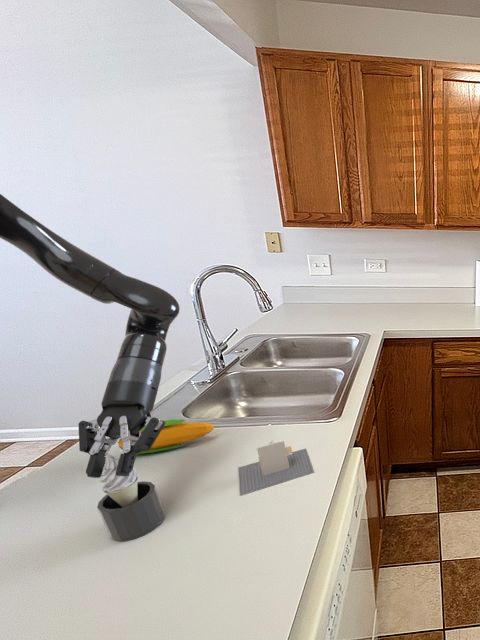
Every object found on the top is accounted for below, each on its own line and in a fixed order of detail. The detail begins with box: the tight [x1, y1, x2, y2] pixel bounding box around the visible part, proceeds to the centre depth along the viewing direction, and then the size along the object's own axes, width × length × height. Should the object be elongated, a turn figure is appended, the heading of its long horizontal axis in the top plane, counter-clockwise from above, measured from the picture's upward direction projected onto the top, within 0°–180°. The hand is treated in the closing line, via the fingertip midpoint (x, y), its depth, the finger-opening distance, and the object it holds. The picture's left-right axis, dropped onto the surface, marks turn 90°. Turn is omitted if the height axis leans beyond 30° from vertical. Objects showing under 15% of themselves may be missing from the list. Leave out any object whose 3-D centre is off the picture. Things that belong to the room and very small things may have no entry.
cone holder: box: [97, 481, 166, 542], centre depth 75 cm, size 8×8×7 cm
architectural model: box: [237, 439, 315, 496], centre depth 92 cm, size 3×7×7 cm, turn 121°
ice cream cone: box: [99, 452, 139, 507], centre depth 73 cm, size 5×5×15 cm
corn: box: [117, 419, 215, 455], centre depth 100 cm, size 7×8×20 cm
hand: (108, 476), depth 70 cm, fingers closed on ice cream cone, 4 cm apart
